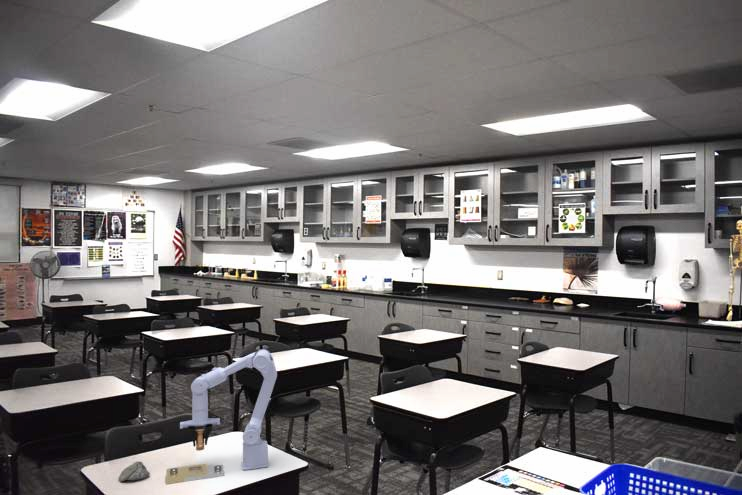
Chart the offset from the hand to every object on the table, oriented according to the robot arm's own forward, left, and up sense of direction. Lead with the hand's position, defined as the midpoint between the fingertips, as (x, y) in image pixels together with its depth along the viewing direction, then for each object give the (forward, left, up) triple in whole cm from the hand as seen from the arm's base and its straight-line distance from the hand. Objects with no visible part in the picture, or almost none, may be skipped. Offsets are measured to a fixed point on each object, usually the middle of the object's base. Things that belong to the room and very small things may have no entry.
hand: (200, 444), depth 202 cm
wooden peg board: (+2, +6, -9) cm, 11 cm away
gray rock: (+23, 0, -9) cm, 25 cm away
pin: (0, 0, -2) cm, 2 cm away
